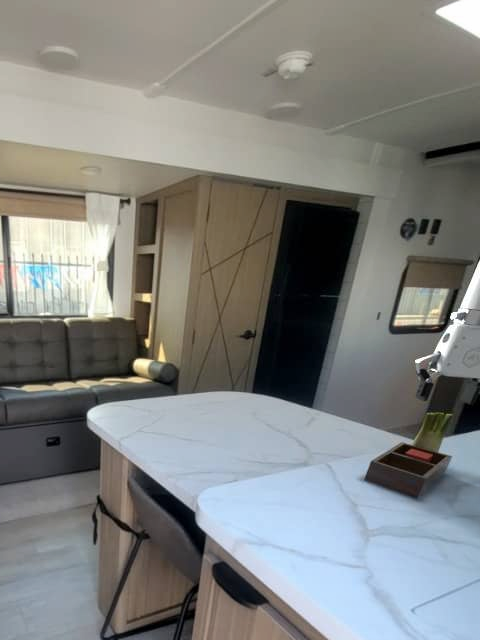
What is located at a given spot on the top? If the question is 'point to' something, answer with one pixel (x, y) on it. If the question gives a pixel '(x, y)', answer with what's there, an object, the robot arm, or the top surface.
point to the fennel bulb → (432, 431)
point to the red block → (419, 455)
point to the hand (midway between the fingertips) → (443, 401)
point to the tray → (407, 470)
